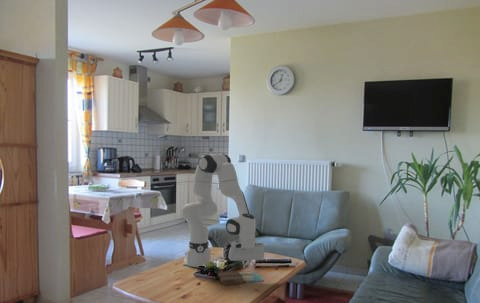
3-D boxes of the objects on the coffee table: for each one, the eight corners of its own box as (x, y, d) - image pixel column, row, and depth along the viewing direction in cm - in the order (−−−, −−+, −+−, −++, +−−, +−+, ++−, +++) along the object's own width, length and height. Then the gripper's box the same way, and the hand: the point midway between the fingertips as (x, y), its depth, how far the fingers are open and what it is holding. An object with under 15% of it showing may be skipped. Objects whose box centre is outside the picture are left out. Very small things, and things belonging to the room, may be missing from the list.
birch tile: (238, 275, 215) (238, 272, 215) (248, 274, 216) (249, 271, 216) (243, 281, 206) (243, 277, 206) (253, 280, 208) (253, 276, 208)
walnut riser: (217, 276, 214) (217, 271, 214) (236, 274, 217) (236, 270, 217) (223, 285, 201) (223, 280, 201) (243, 283, 204) (243, 279, 204)
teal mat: (240, 274, 217) (240, 274, 217) (256, 273, 220) (256, 273, 220) (246, 282, 206) (246, 281, 206) (263, 281, 208) (263, 280, 208)
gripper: (262, 241, 217) (261, 264, 218) (228, 242, 212) (227, 266, 212) (266, 244, 211) (265, 268, 212) (231, 245, 206) (230, 270, 206)
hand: (245, 267), depth 212 cm, fingers closed
